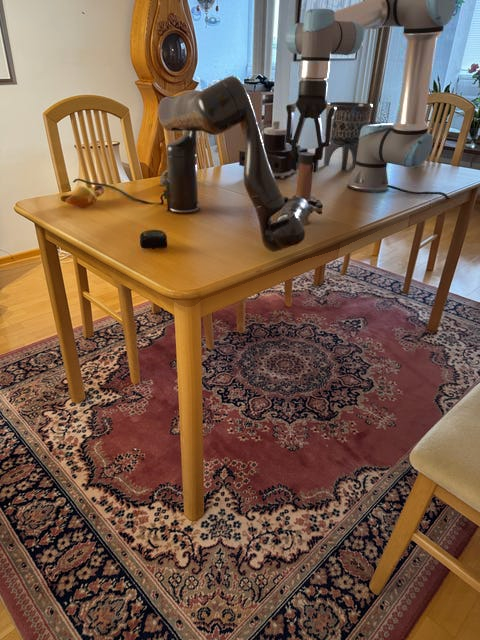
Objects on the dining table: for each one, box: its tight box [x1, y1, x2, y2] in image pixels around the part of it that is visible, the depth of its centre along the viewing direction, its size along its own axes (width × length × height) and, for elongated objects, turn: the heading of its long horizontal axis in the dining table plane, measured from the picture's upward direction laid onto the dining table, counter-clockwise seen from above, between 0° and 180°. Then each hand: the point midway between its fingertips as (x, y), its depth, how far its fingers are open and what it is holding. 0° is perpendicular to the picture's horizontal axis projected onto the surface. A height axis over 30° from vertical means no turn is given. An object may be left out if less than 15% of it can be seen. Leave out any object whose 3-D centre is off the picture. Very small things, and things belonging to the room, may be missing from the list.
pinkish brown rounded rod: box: [295, 163, 314, 225], centre depth 134 cm, size 4×4×19 cm
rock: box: [159, 168, 168, 187], centre depth 175 cm, size 13×9×6 cm, turn 131°
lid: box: [297, 151, 315, 164], centre depth 129 cm, size 5×5×2 cm
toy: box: [60, 185, 105, 208], centre depth 150 cm, size 11×6×15 cm
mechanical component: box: [238, 120, 309, 179], centre depth 191 cm, size 22×21×30 cm
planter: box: [323, 101, 374, 172], centre depth 204 cm, size 20×20×26 cm
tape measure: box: [139, 229, 168, 250], centre depth 117 cm, size 7×7×4 cm
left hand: (303, 198), depth 138 cm, fingers closed on pinkish brown rounded rod, 4 cm apart
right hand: (305, 170), depth 131 cm, fingers closed on lid, 5 cm apart
